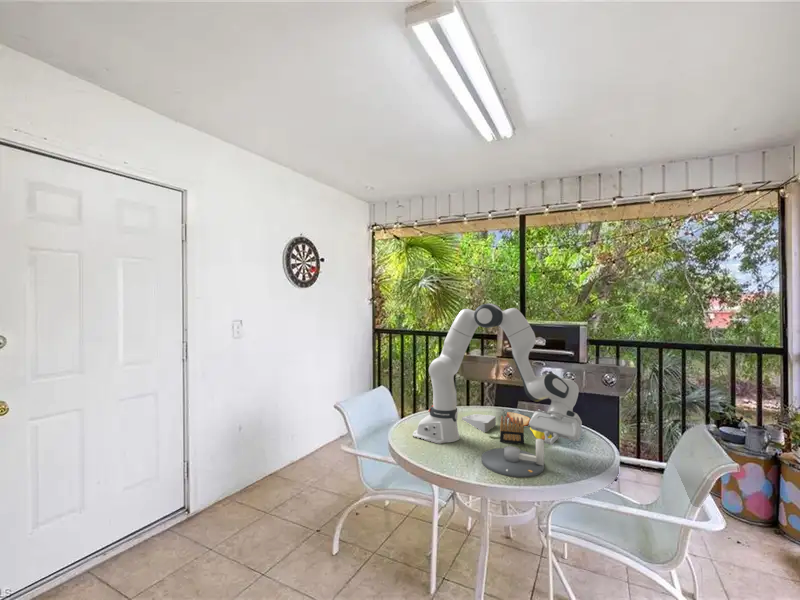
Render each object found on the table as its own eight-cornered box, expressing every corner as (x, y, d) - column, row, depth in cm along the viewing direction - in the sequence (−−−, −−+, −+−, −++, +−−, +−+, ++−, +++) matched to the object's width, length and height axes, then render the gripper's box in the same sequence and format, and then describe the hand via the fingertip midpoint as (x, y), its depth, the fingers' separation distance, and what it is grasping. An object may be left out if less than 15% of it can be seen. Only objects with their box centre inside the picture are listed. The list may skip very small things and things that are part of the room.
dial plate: (474, 469, 145) (474, 464, 145) (488, 448, 166) (488, 444, 166) (540, 482, 134) (540, 477, 134) (546, 457, 156) (546, 453, 156)
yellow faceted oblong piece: (536, 442, 174) (553, 443, 173) (536, 428, 174) (553, 428, 173) (528, 429, 192) (544, 430, 191) (528, 416, 192) (544, 417, 191)
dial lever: (502, 460, 149) (503, 436, 149) (505, 455, 154) (505, 432, 154) (543, 467, 142) (543, 443, 142) (544, 461, 148) (544, 438, 148)
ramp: (459, 417, 214) (459, 407, 214) (486, 416, 214) (486, 407, 214) (470, 434, 186) (470, 423, 186) (501, 433, 186) (501, 422, 186)
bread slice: (509, 414, 219) (509, 408, 219) (539, 421, 207) (539, 414, 207) (494, 421, 205) (494, 414, 205) (526, 429, 193) (526, 421, 193)
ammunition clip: (500, 441, 174) (500, 416, 174) (499, 440, 176) (499, 414, 176) (524, 444, 171) (524, 417, 172) (523, 442, 173) (523, 416, 173)
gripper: (533, 404, 163) (521, 432, 157) (581, 415, 148) (570, 446, 141) (538, 413, 166) (527, 440, 160) (586, 424, 151) (576, 454, 144)
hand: (548, 443), depth 150 cm, fingers closed
